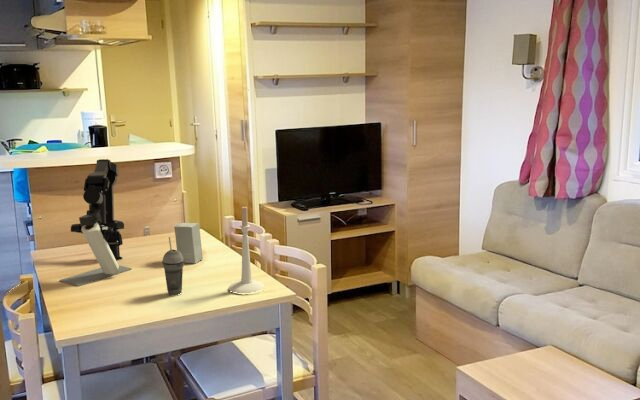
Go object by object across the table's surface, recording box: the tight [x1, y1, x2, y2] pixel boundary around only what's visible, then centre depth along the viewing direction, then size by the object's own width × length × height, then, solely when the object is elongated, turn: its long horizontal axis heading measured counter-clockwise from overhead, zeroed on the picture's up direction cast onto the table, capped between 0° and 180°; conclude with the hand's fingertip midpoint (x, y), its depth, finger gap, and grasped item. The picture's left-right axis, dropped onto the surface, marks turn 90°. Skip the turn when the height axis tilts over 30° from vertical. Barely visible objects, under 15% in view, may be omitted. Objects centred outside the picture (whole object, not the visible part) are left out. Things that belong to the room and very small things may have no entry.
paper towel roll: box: [81, 222, 120, 274], centre depth 220 cm, size 7×6×21 cm
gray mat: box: [59, 264, 133, 287], centre depth 227 cm, size 24×11×1 cm, turn 147°
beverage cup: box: [162, 236, 185, 296], centre depth 204 cm, size 7×7×20 cm
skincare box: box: [173, 222, 204, 264], centre depth 243 cm, size 8×7×16 cm
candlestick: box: [228, 205, 265, 293], centre depth 207 cm, size 13×13×30 cm
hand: (97, 250), depth 219 cm, fingers closed on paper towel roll, 3 cm apart
